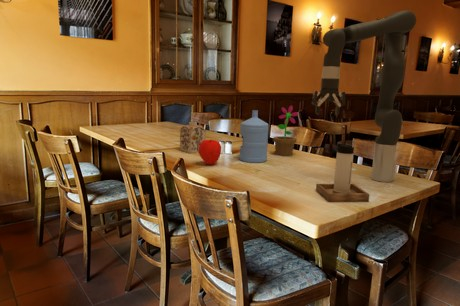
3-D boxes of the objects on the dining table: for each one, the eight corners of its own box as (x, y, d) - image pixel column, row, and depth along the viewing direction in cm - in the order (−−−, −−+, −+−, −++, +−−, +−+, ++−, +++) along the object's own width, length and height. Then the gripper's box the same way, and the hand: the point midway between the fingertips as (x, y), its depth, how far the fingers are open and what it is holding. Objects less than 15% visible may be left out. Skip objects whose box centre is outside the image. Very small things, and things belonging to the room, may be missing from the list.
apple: (194, 164, 186) (194, 139, 184) (206, 160, 197) (206, 136, 194) (213, 168, 181) (214, 142, 178) (224, 163, 191) (225, 139, 189)
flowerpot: (298, 154, 223) (302, 105, 217) (291, 158, 211) (295, 107, 205) (276, 151, 230) (279, 104, 224) (268, 155, 217) (271, 105, 211)
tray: (352, 190, 150) (353, 183, 150) (368, 201, 137) (369, 194, 136) (315, 190, 149) (316, 183, 148) (328, 201, 135) (329, 194, 134)
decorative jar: (179, 150, 223) (179, 121, 219) (194, 148, 230) (194, 120, 227) (190, 153, 214) (190, 123, 210) (205, 151, 222) (206, 122, 218)
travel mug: (330, 190, 145) (334, 142, 141) (345, 191, 146) (350, 142, 142) (335, 195, 139) (340, 145, 135) (351, 195, 140) (357, 145, 136)
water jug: (271, 159, 204) (274, 110, 199) (258, 164, 192) (260, 112, 186) (248, 155, 213) (250, 108, 207) (233, 160, 200) (235, 110, 195)
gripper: (317, 77, 150) (314, 115, 154) (350, 78, 152) (346, 116, 155) (311, 77, 158) (309, 114, 161) (342, 78, 159) (339, 114, 162)
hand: (327, 115), depth 158 cm, fingers open, 8 cm apart
